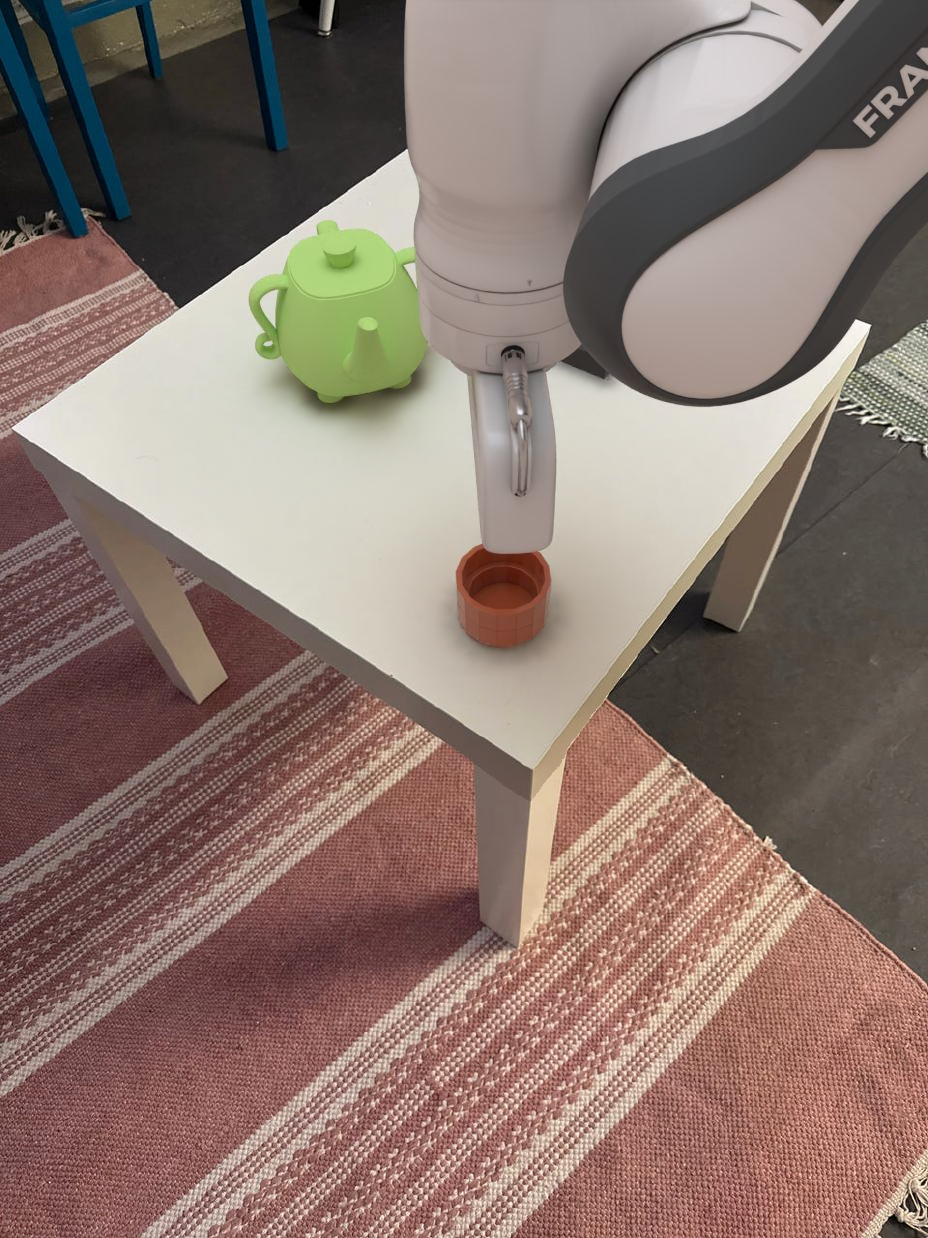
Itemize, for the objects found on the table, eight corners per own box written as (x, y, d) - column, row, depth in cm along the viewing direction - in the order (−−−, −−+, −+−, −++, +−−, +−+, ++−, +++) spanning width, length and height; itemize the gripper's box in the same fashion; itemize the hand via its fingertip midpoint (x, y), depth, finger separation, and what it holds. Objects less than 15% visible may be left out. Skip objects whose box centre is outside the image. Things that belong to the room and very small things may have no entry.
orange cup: (542, 575, 71) (545, 536, 67) (552, 647, 67) (555, 611, 63) (455, 580, 71) (453, 542, 67) (460, 653, 67) (458, 617, 63)
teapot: (478, 357, 85) (477, 232, 75) (385, 448, 79) (370, 325, 69) (344, 298, 91) (325, 175, 81) (247, 378, 84) (213, 255, 74)
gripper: (597, 433, 40) (571, 616, 51) (547, 176, 51) (535, 371, 63) (452, 440, 40) (458, 622, 51) (434, 181, 51) (443, 376, 63)
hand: (500, 482), depth 57 cm, fingers open, 8 cm apart
